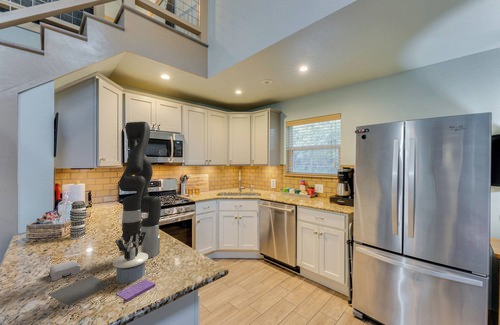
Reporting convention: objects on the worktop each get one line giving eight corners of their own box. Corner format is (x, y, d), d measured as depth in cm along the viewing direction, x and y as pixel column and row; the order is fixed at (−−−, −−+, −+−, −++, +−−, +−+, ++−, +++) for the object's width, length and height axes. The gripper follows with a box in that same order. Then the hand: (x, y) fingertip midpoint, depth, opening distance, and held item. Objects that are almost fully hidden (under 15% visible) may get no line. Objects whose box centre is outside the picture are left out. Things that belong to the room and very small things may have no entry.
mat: (90, 277, 94) (90, 275, 94) (111, 286, 88) (111, 283, 88) (47, 296, 81) (47, 294, 81) (69, 308, 75) (69, 305, 75)
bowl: (133, 270, 102) (133, 256, 102) (149, 275, 97) (149, 261, 97) (110, 281, 92) (110, 266, 92) (127, 287, 87) (127, 272, 87)
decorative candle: (81, 234, 152) (82, 199, 153) (88, 236, 148) (89, 201, 149) (66, 238, 144) (67, 201, 144) (73, 240, 140) (74, 203, 140)
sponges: (115, 298, 81) (115, 293, 81) (145, 282, 92) (145, 278, 92) (126, 304, 78) (126, 299, 78) (155, 287, 89) (155, 282, 89)
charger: (73, 264, 107) (79, 275, 97) (48, 271, 100) (52, 283, 90) (73, 255, 107) (79, 265, 97) (48, 261, 100) (52, 272, 90)
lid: (134, 251, 104) (134, 240, 104) (155, 257, 98) (155, 244, 98) (105, 263, 91) (105, 250, 91) (127, 270, 85) (127, 256, 85)
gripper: (139, 215, 103) (139, 250, 103) (110, 222, 90) (110, 262, 90) (150, 217, 100) (150, 253, 100) (122, 224, 87) (121, 266, 87)
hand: (131, 257), depth 95 cm, fingers closed on lid, 3 cm apart
